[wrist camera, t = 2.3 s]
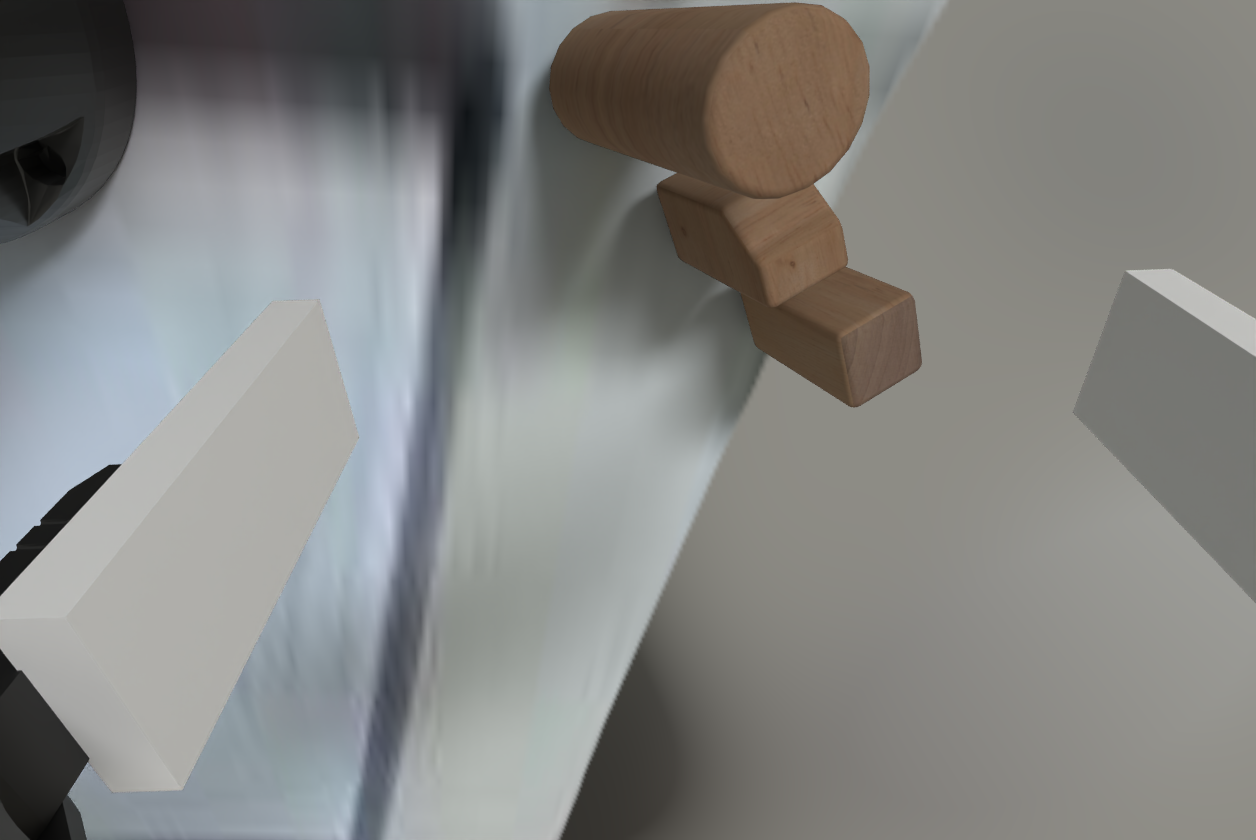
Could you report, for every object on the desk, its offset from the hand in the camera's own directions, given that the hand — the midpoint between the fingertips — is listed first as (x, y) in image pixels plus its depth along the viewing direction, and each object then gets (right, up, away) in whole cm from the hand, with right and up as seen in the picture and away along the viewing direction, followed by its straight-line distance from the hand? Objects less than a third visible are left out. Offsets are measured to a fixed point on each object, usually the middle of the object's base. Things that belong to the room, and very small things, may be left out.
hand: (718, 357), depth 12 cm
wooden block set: (+1, +10, +13) cm, 16 cm away
